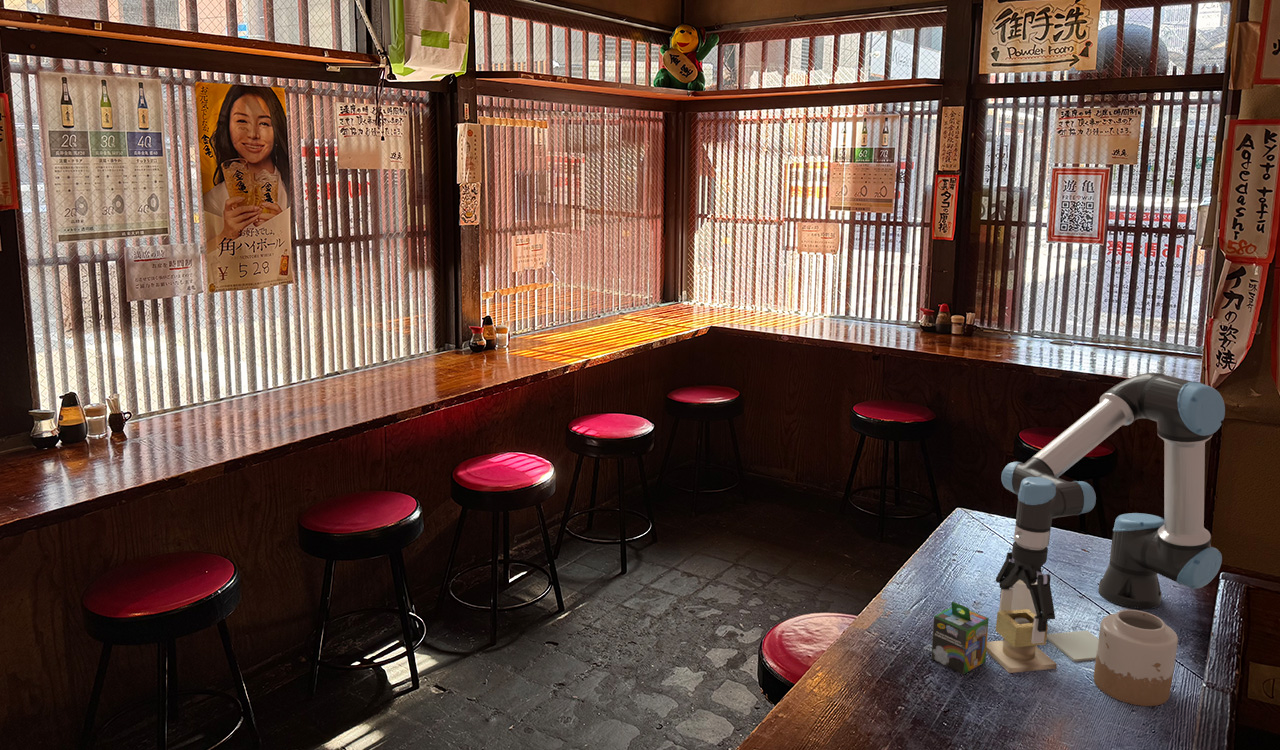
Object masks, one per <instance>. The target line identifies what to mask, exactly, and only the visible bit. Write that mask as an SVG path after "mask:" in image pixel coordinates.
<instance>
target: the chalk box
mask: <svg viewBox="0 0 1280 750" xmlns="http://www.w3.org/2000/svg"><path fill="white" fill-rule="evenodd" d="M950 603H951V604H950V605H951V607H949V608H945V609H944V610H942V611H941V612H939V613H938V614H935V615H934V616H933V629H932V642H931V643H932V644H931V645H932V646H931V660H933V661H936V662H937V663H939V664H941V665H943V666H945V667H948V668H949V669H951V670H953V671H955V672H957V673H959V674H961V675H965V674H967V673H968V672H971V671H972V670H974V669H976V668H977V667H979V666H981V665H983V664H984V663H986V658H987V652H986V648H987V642H988V632H989V619H990V618H989V617H987V616H985V615H983V614H980V613H978V612H975V611H972V610H970V608H969V607H967V606H964V605H963V604H960V603H957V602H955V601H951V602H950Z"/></svg>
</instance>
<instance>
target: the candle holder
mask: <svg viewBox="0 0 1280 750" xmlns="http://www.w3.org/2000/svg"><path fill="white" fill-rule="evenodd" d="M1035 584H1037V582H1036V583H1035ZM1032 585H1033V584H1032ZM1012 587H1013V588H1009V589H1013V597H1012V606H1011V610H1022V609H1029V610H1030V611H1031V612H1032V613H1034V614H1035V615H1036V616H1037V614H1036V610H1035V607H1034V603H1033V600H1032V597H1031V593H1030V590H1029V589H1028V588H1027V586H1026V584H1025V583H1024V582H1023V581H1022V580H1020V579H1019V580H1018V581H1017V582H1016V583H1015V584H1014V585H1013V586H1012Z"/></svg>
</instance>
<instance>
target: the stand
mask: <svg viewBox="0 0 1280 750" xmlns="http://www.w3.org/2000/svg"><path fill="white" fill-rule="evenodd" d="M1015 621H1016V622H1017V623H1018V624H1026V623H1029V621H1028V620H1027V619H1025V618H1016V619H1015ZM986 653H987V654H989V655H990V657H992V659H994V661H996V662H997V663H998V664H999V665H1000V666H1001V667H1003V669H1004V670H1005V671H1006V672H1008V674H1012V673H1022V672H1034V671H1035V672H1036V671H1042V670H1043V671H1044V670H1045V671H1046V670H1050V669H1051V670H1053V669H1055V670H1056V669H1057V664H1058V663H1056V661H1054V660H1053V659H1052V658H1051V657H1049V656H1048V655H1047V654H1046V653H1045V652H1044V651H1043V650H1041V649H1040V648H1039V647H1038V645H1036V646H1025V647H1013V646H1012V645H1011V644H1010V643H1009V642H1008V641H1007V640H1005V639H1004V638H1003V639H1002V640H994V641H987V648H986Z"/></svg>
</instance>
